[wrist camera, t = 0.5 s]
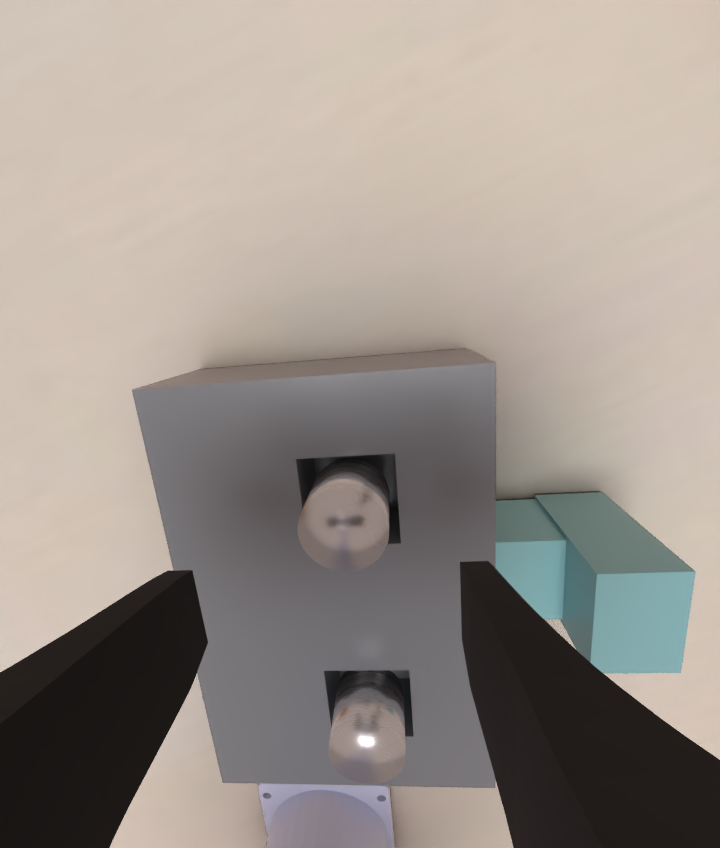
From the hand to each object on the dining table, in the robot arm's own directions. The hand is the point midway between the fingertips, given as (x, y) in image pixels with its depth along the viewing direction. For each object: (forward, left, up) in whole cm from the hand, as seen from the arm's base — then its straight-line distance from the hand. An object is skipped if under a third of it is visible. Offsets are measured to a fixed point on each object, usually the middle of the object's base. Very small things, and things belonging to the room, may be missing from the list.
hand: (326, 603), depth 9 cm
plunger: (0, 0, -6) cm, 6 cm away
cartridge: (-4, -4, -10) cm, 12 cm away
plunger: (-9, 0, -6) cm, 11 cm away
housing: (-4, +1, -10) cm, 11 cm away
